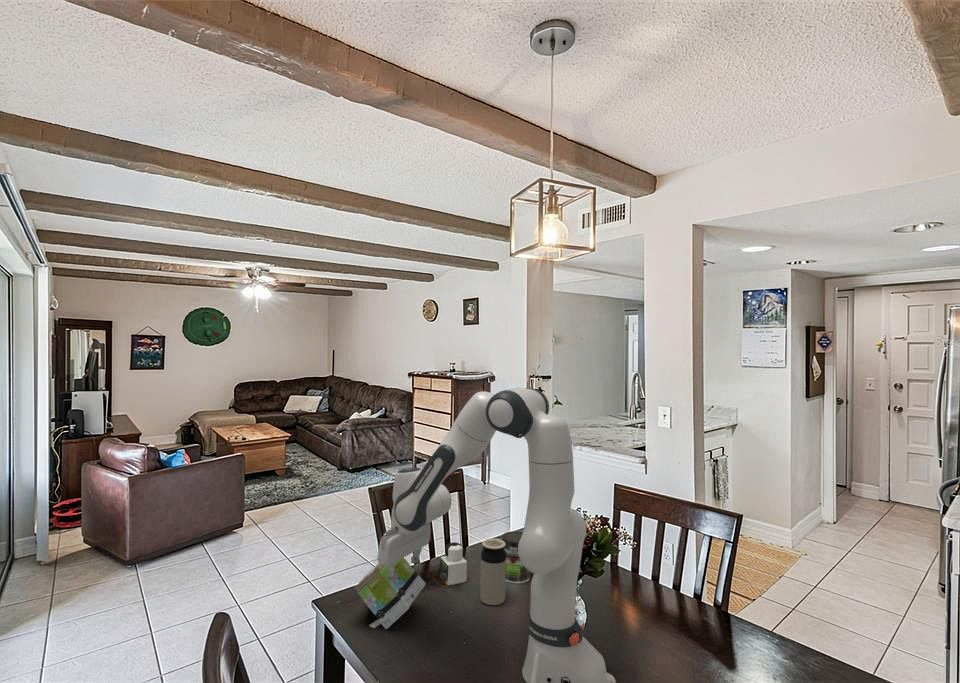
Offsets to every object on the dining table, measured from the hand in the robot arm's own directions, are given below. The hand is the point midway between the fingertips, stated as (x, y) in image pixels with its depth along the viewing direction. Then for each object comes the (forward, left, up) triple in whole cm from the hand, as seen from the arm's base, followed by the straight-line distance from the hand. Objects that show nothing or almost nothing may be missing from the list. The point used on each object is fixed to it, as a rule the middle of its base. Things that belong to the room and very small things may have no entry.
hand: (403, 569), depth 144 cm
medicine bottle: (+1, -28, -15) cm, 31 cm away
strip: (+4, 0, -14) cm, 15 cm away
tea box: (-2, 0, -11) cm, 11 cm away
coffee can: (-16, -42, -15) cm, 47 cm away
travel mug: (-17, -24, -15) cm, 33 cm away
